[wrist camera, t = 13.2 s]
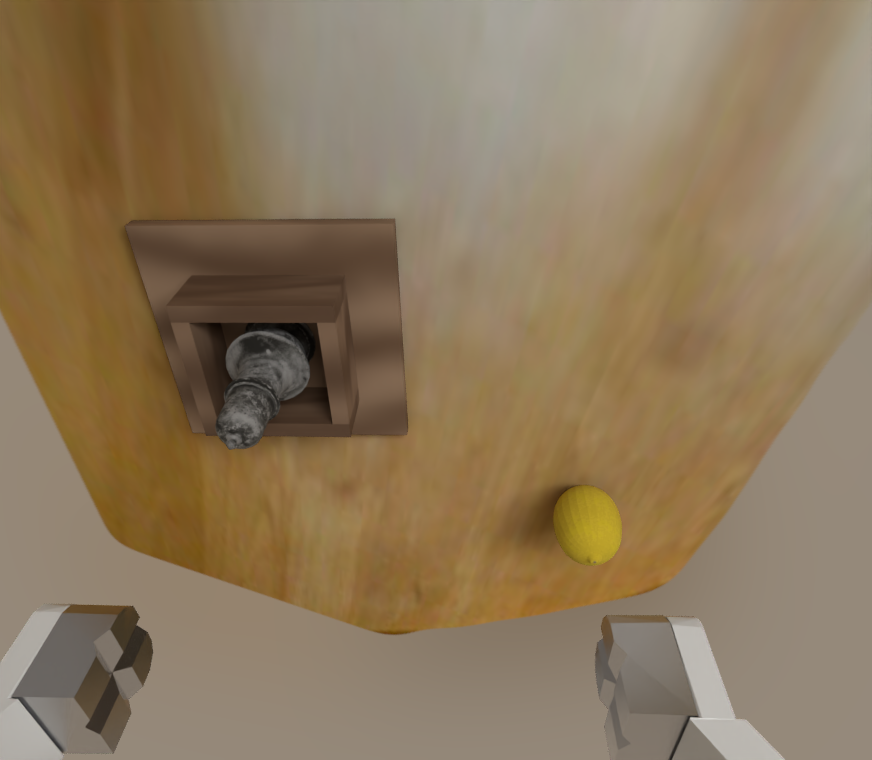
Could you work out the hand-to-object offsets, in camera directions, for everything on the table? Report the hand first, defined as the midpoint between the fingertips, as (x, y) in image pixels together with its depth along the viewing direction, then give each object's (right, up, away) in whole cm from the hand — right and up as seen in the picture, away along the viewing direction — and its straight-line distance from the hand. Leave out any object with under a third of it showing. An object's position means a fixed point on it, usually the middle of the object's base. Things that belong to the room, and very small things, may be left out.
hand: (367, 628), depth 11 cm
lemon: (+14, -5, +44) cm, 46 cm away
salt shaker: (-10, +7, +35) cm, 37 cm away
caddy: (-10, +8, +36) cm, 38 cm away
